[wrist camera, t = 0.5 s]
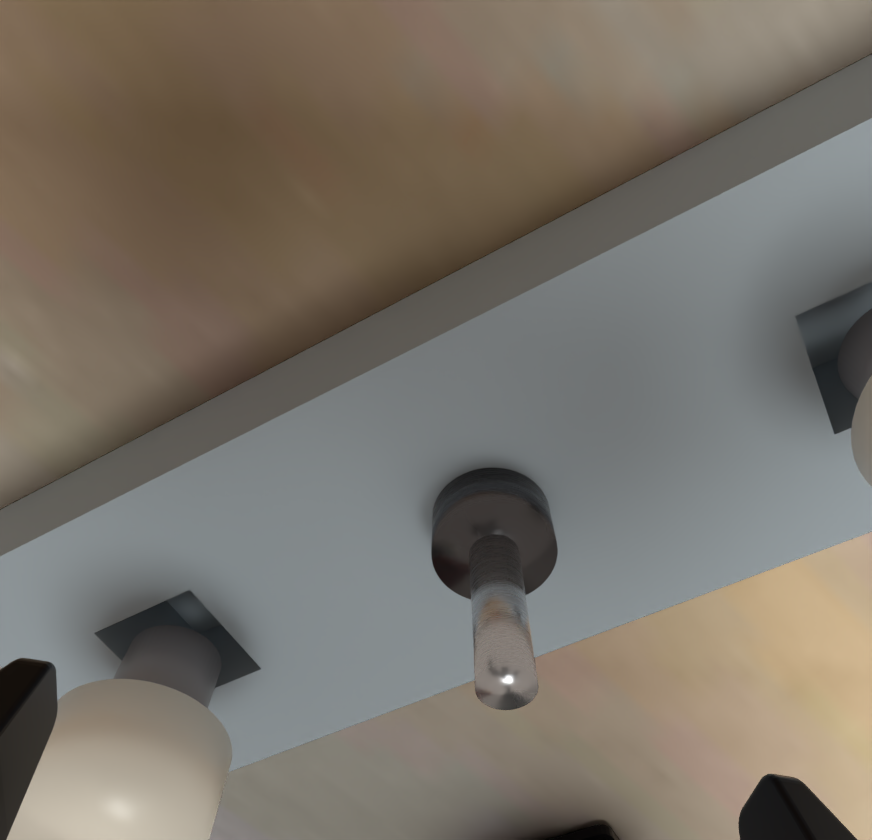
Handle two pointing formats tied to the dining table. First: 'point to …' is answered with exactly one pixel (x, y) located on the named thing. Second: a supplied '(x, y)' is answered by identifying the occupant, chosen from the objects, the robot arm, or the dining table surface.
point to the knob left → (134, 750)
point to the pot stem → (496, 572)
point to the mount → (493, 443)
